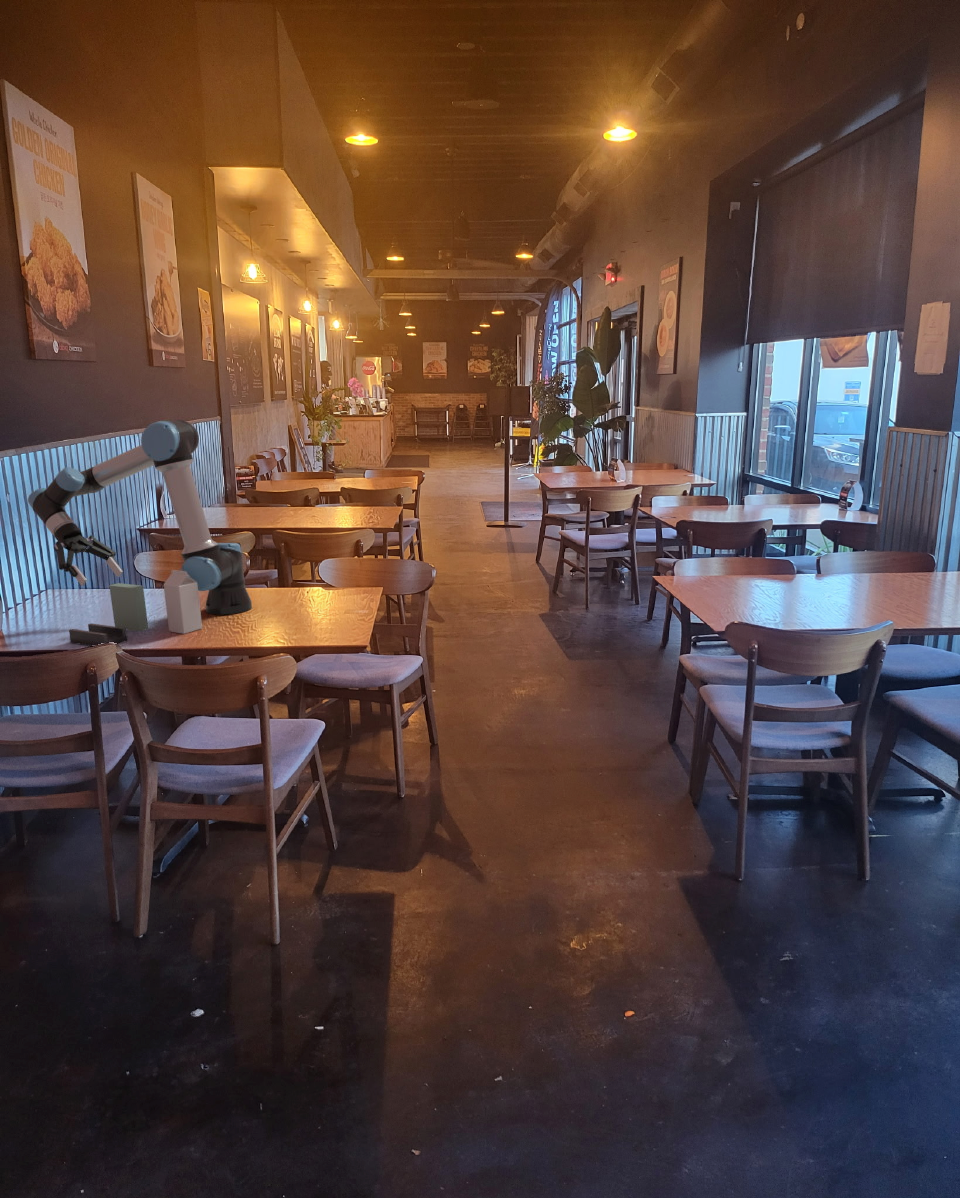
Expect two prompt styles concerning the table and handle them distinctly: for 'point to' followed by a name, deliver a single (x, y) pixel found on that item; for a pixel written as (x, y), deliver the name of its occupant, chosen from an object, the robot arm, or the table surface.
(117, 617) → the door panel
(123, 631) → the bottom track
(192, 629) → the milk carton
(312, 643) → the table surface
